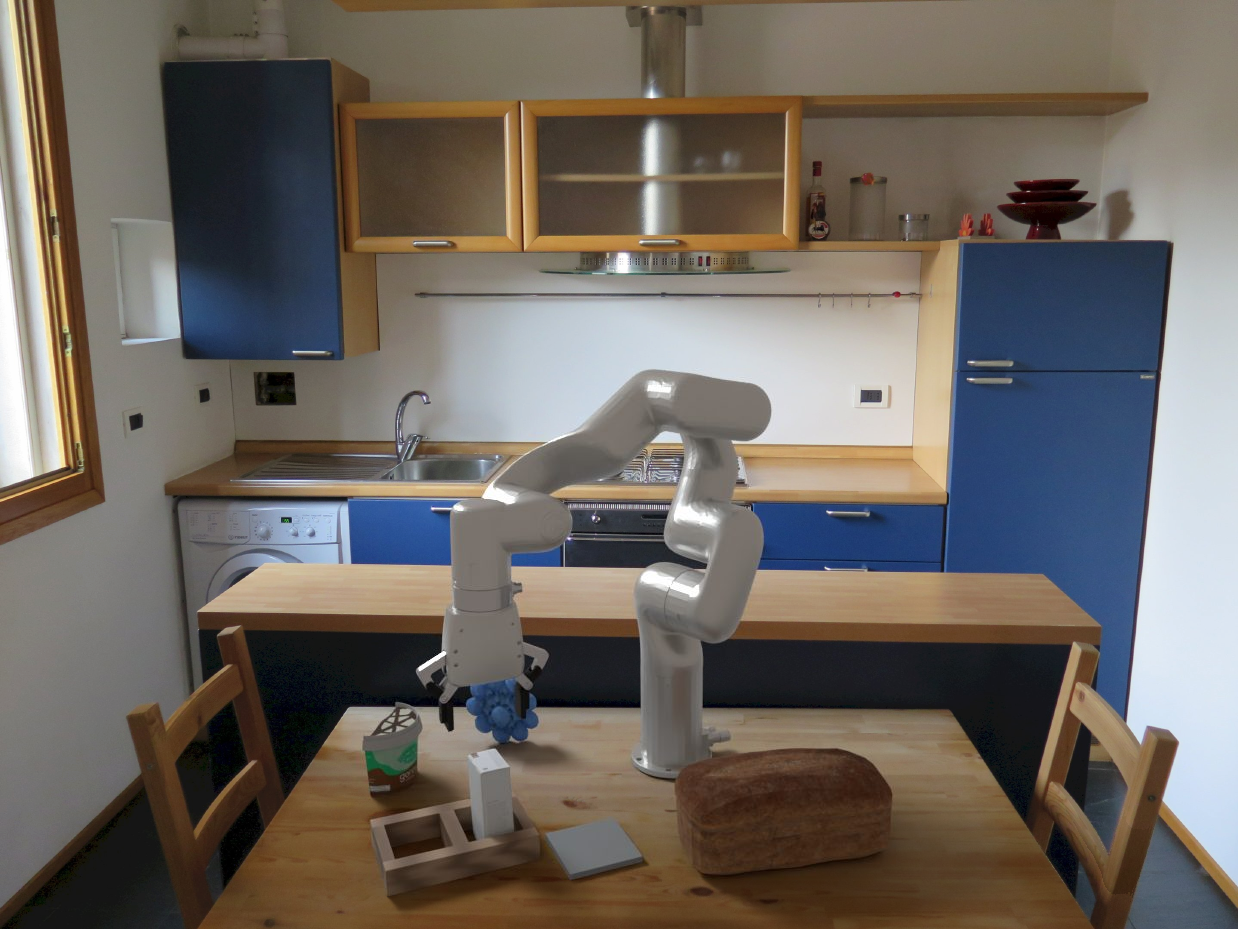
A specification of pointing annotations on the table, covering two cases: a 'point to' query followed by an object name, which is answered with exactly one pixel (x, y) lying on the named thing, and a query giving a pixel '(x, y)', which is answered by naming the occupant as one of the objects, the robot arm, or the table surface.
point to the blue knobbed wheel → (500, 711)
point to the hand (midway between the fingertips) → (485, 721)
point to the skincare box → (490, 794)
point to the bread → (781, 809)
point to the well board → (448, 846)
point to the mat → (593, 848)
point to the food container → (393, 751)
